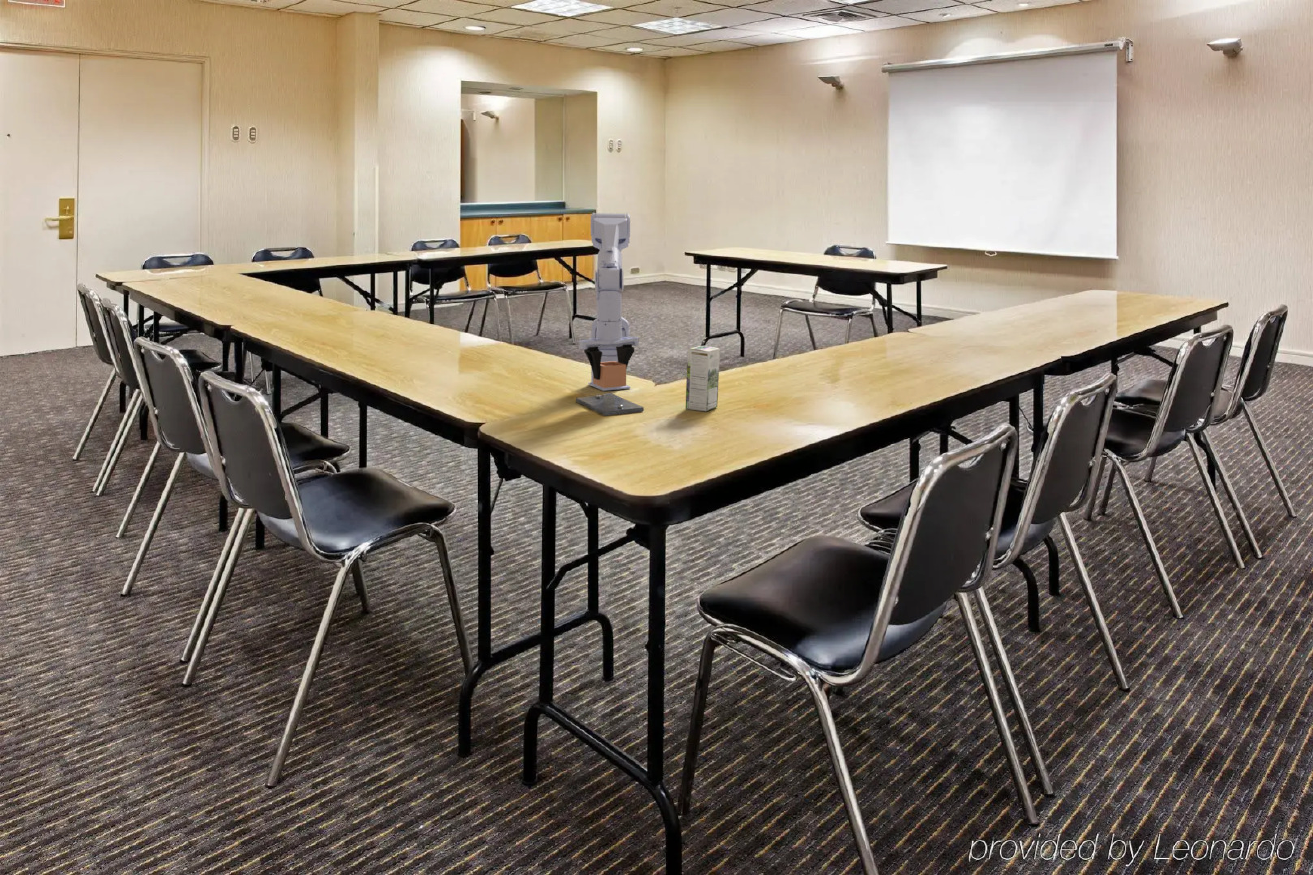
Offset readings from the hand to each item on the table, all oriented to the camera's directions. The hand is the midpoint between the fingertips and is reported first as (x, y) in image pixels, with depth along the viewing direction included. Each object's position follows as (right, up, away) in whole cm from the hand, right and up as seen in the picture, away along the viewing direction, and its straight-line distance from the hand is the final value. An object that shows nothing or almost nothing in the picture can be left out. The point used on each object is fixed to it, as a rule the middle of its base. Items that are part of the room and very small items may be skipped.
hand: (609, 377), depth 230 cm
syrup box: (+22, -7, +1) cm, 23 cm away
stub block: (0, -7, +2) cm, 7 cm away
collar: (0, -2, 0) cm, 2 cm away
